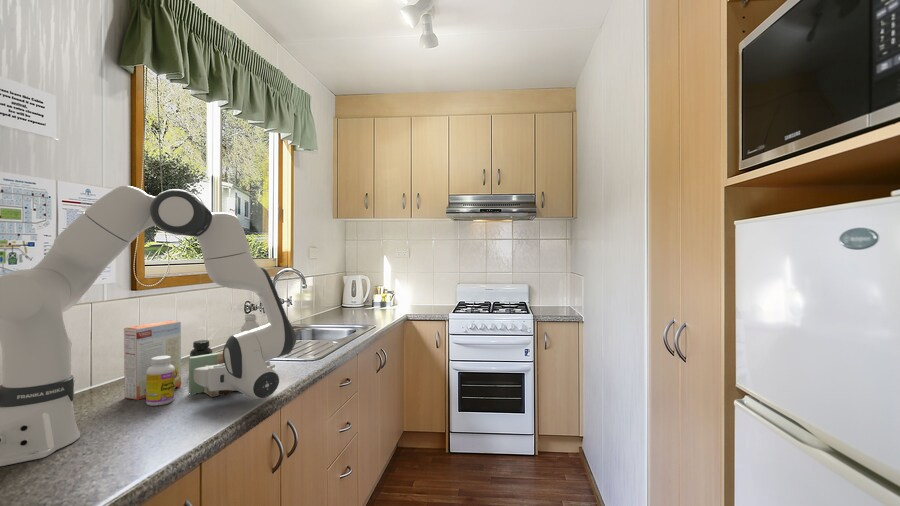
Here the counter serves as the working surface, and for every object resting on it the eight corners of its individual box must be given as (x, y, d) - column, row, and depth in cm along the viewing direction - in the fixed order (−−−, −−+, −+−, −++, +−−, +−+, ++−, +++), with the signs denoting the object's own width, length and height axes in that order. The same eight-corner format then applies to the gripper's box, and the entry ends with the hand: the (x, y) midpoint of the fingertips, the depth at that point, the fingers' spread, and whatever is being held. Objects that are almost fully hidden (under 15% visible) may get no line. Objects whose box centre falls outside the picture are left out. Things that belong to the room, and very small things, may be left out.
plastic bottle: (242, 367, 160) (243, 313, 160) (262, 366, 161) (262, 313, 161) (237, 372, 153) (237, 316, 153) (257, 371, 155) (258, 316, 155)
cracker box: (168, 384, 139) (168, 320, 139) (181, 386, 137) (182, 321, 137) (122, 398, 125) (123, 326, 125) (136, 400, 123) (137, 328, 123)
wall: (190, 394, 129) (191, 358, 129) (188, 393, 130) (189, 357, 130) (245, 383, 140) (245, 349, 140) (243, 382, 142) (243, 348, 142)
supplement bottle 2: (187, 375, 149) (187, 341, 149) (209, 371, 154) (209, 338, 154) (192, 379, 144) (192, 344, 144) (214, 376, 149) (214, 341, 149)
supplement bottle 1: (160, 407, 118) (160, 360, 118) (140, 405, 119) (140, 359, 120) (180, 399, 125) (180, 355, 125) (160, 397, 126) (161, 354, 126)
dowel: (220, 395, 128) (220, 355, 129) (215, 392, 131) (215, 353, 131) (234, 392, 131) (234, 353, 131) (229, 389, 134) (229, 351, 134)
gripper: (277, 356, 130) (258, 349, 140) (203, 369, 115) (187, 360, 125) (277, 377, 130) (258, 368, 140) (203, 393, 115) (187, 382, 125)
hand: (224, 365), depth 132 cm, fingers open, 8 cm apart
